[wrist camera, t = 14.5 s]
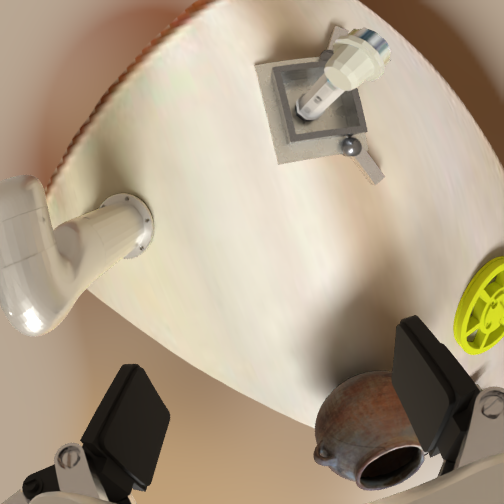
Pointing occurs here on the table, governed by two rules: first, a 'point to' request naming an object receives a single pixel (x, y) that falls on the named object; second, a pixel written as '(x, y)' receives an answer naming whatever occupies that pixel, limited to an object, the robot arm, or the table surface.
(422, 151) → the table surface
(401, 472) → the clay pot
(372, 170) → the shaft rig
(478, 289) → the pulley
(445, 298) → the table surface
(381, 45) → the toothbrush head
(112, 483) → the robot arm
